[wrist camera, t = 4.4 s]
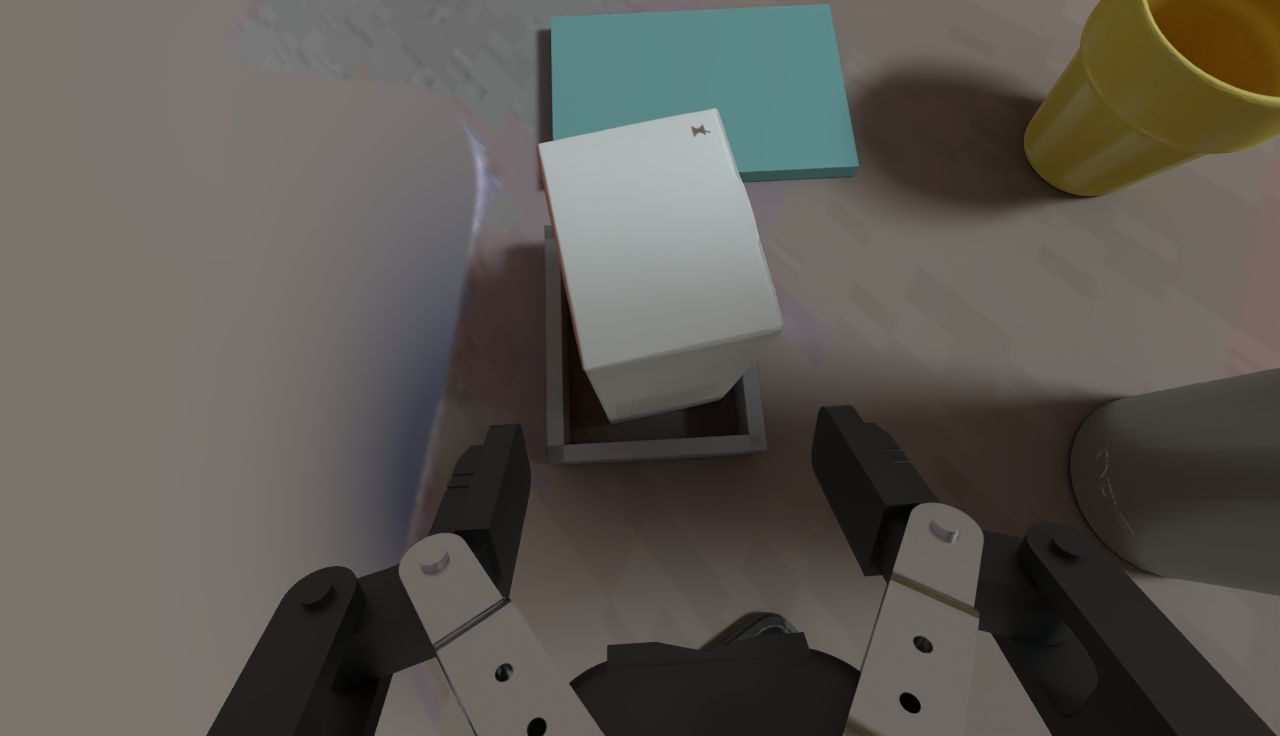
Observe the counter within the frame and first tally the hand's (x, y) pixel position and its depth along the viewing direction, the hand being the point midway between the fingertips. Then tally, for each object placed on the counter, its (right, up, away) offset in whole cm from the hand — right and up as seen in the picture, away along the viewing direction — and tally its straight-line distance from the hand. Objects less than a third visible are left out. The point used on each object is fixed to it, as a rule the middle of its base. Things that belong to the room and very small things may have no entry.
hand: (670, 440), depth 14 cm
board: (+3, +19, +18) cm, 27 cm away
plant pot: (+26, +15, +18) cm, 35 cm away
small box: (0, +3, +15) cm, 15 cm away
